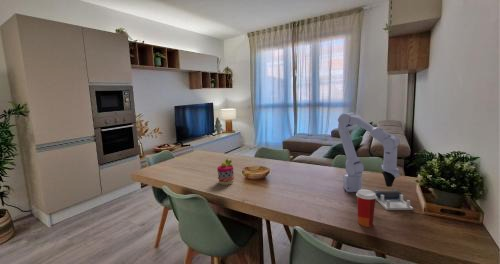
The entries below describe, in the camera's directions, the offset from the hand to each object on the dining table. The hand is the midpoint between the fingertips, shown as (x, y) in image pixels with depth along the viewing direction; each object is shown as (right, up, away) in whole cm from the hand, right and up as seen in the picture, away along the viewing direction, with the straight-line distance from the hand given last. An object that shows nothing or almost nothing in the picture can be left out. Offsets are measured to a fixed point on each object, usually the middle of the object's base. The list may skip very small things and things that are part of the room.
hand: (388, 186), depth 121 cm
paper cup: (-21, -12, -19) cm, 31 cm away
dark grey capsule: (0, -6, +1) cm, 6 cm away
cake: (-86, -6, +36) cm, 94 cm away
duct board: (0, -8, -2) cm, 8 cm away
